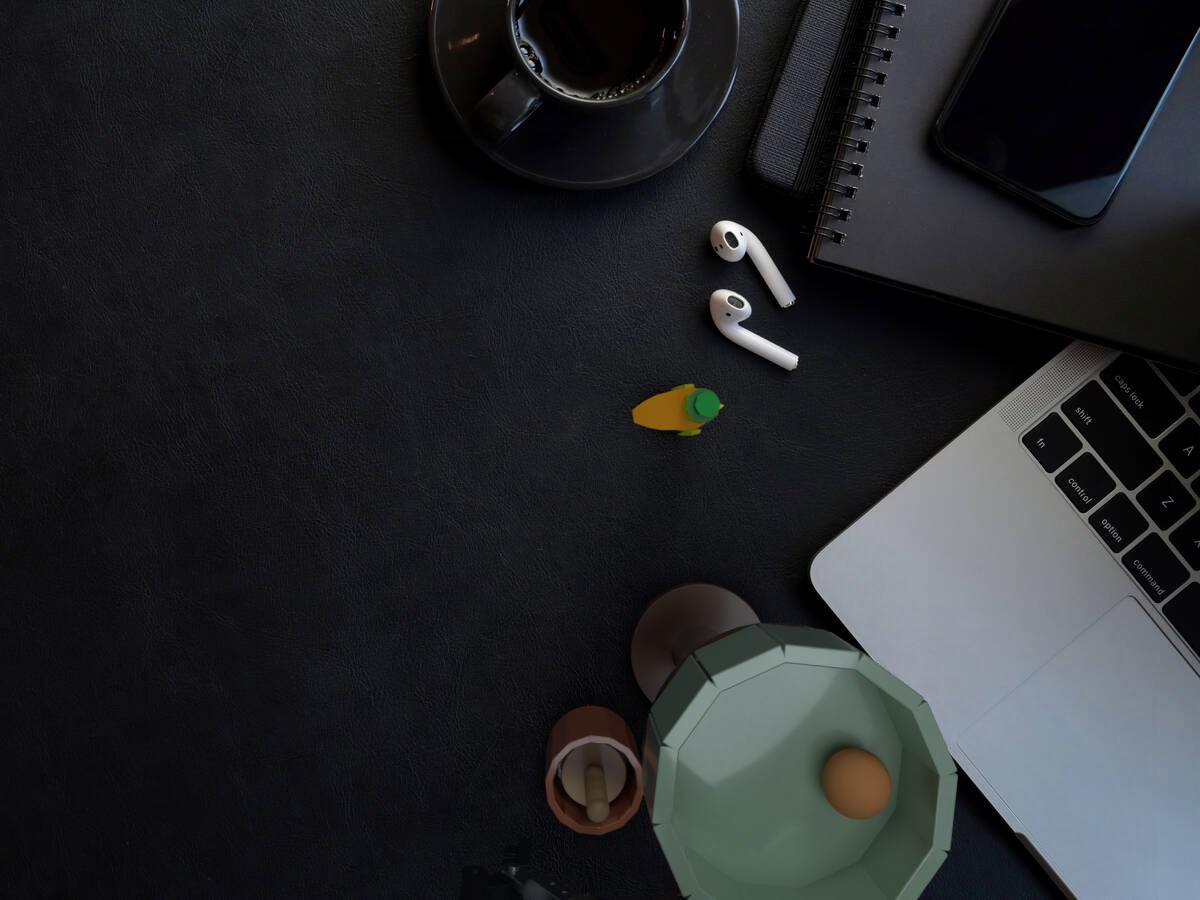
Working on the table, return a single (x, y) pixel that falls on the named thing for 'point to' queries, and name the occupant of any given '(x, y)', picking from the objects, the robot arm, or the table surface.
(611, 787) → the beige plunger
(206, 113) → the table surface
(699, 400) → the toy figure
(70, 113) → the table surface
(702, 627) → the brown pedestal stand
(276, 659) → the table surface
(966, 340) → the table surface
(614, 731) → the holder
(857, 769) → the ball
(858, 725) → the green bowl
